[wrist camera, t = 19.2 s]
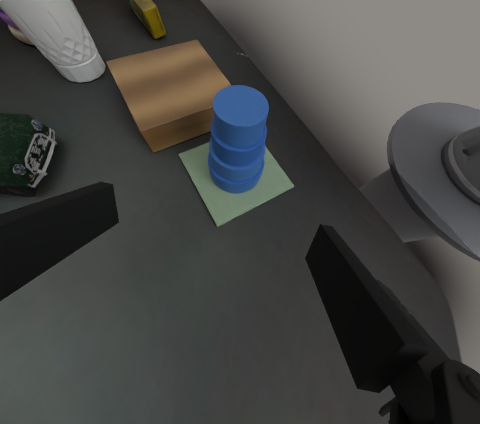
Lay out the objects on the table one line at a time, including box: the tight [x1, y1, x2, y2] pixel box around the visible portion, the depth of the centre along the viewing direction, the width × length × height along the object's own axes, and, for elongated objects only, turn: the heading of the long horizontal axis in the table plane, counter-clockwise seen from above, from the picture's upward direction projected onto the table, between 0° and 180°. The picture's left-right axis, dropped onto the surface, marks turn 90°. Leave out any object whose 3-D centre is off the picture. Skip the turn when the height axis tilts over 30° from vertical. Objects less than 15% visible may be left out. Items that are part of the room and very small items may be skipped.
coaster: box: [178, 142, 294, 227], centre depth 24 cm, size 12×12×1 cm
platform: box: [106, 40, 231, 153], centre depth 26 cm, size 14×14×4 cm
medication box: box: [127, 0, 166, 39], centre depth 32 cm, size 12×3×4 cm, turn 34°
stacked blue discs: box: [208, 85, 269, 193], centre depth 19 cm, size 7×7×10 cm
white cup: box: [0, 0, 106, 83], centre depth 24 cm, size 8×8×10 cm
